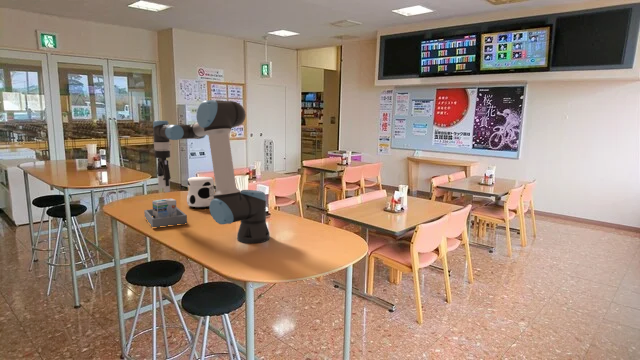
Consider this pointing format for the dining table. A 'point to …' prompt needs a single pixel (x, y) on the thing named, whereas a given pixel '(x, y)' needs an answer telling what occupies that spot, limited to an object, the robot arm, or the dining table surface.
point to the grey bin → (166, 219)
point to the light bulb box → (164, 208)
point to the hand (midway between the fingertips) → (164, 190)
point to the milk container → (200, 192)
